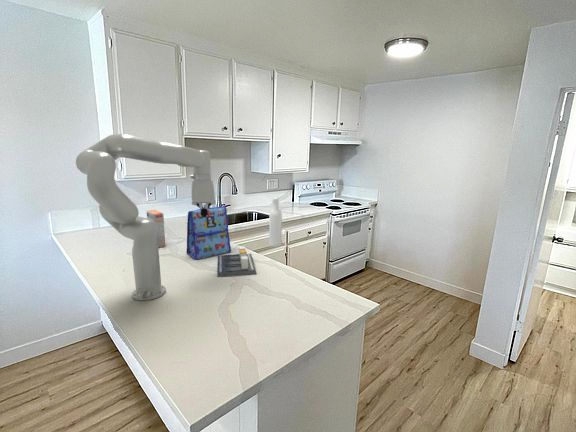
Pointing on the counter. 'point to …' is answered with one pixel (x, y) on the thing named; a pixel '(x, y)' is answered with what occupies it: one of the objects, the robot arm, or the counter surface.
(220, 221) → the lunch bag
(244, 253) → the block
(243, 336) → the counter surface
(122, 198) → the robot arm
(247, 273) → the panel
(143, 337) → the counter surface
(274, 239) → the bottle
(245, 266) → the block
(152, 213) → the cracker box
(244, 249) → the block
